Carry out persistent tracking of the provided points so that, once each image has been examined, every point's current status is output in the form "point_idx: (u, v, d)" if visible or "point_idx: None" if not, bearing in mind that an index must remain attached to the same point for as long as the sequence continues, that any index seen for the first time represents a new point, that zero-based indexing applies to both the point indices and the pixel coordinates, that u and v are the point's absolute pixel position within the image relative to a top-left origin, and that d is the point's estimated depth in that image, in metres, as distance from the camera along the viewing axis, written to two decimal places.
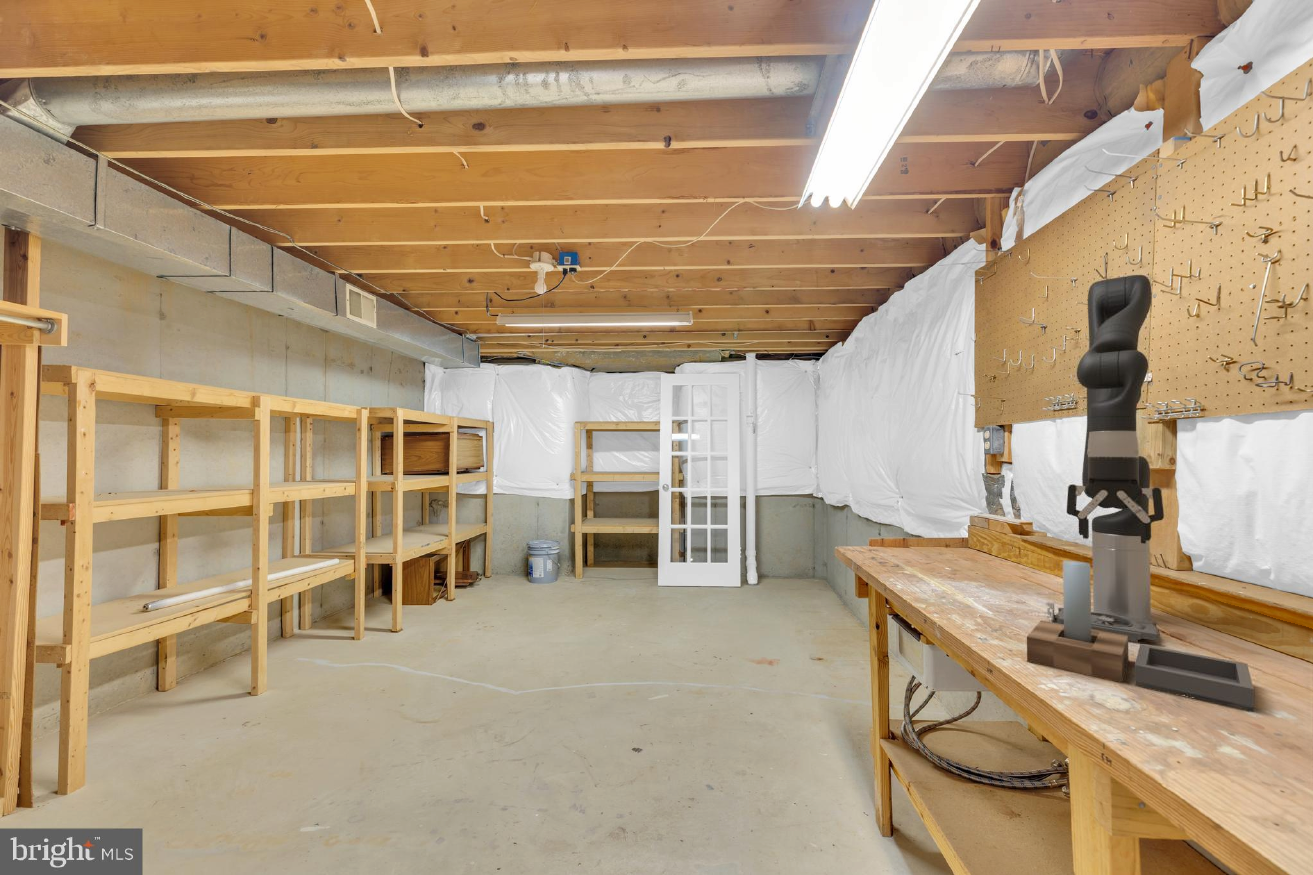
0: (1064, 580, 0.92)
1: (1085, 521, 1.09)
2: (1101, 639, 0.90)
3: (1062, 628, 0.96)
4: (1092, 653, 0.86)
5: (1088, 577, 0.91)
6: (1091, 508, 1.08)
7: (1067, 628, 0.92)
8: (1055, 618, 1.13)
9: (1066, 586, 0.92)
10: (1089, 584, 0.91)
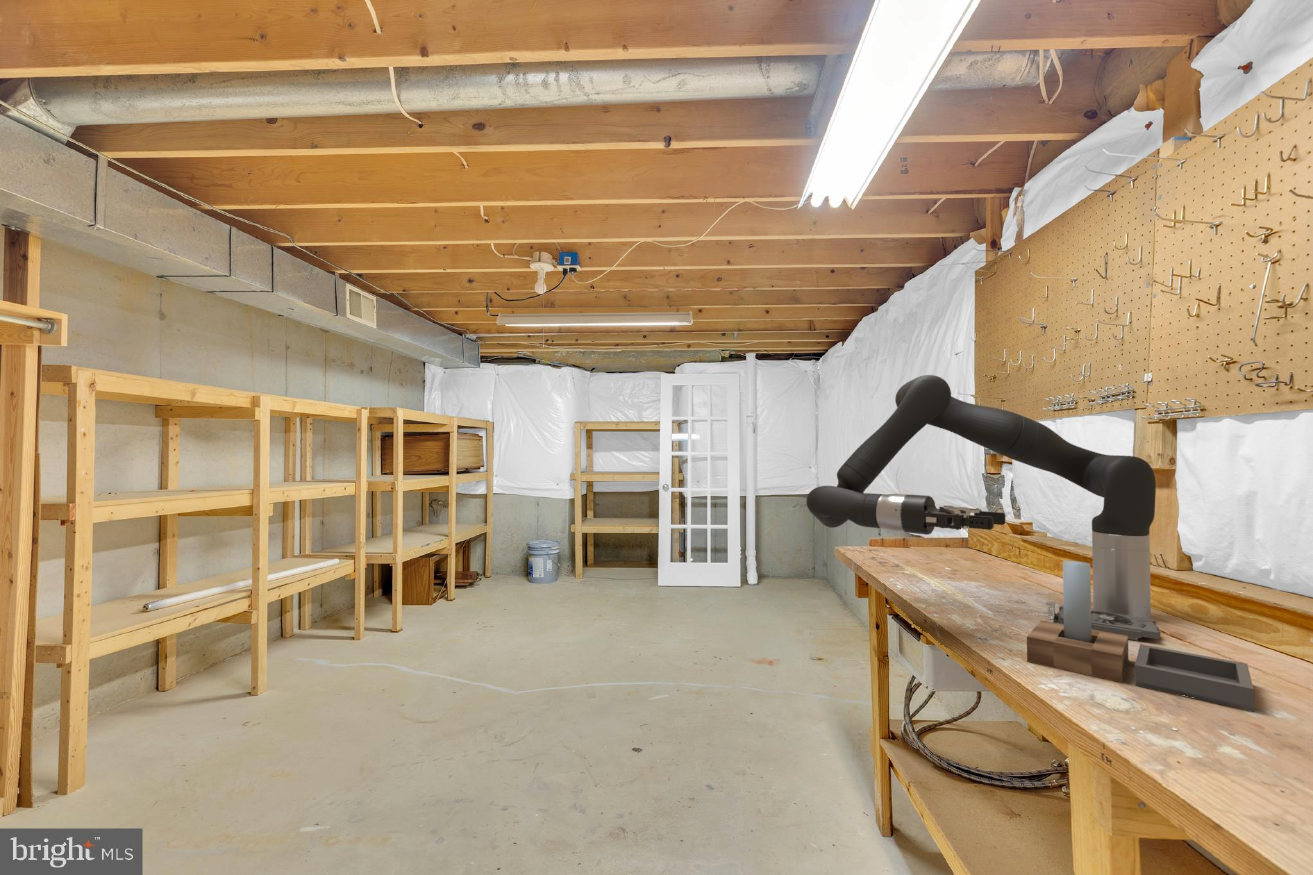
0: (1064, 580, 0.92)
1: None
2: (1101, 639, 0.90)
3: (1062, 628, 0.96)
4: (1092, 653, 0.86)
5: (1088, 577, 0.91)
6: None
7: (1067, 628, 0.92)
8: (1056, 617, 1.13)
9: (1066, 586, 0.92)
10: (1089, 584, 0.91)
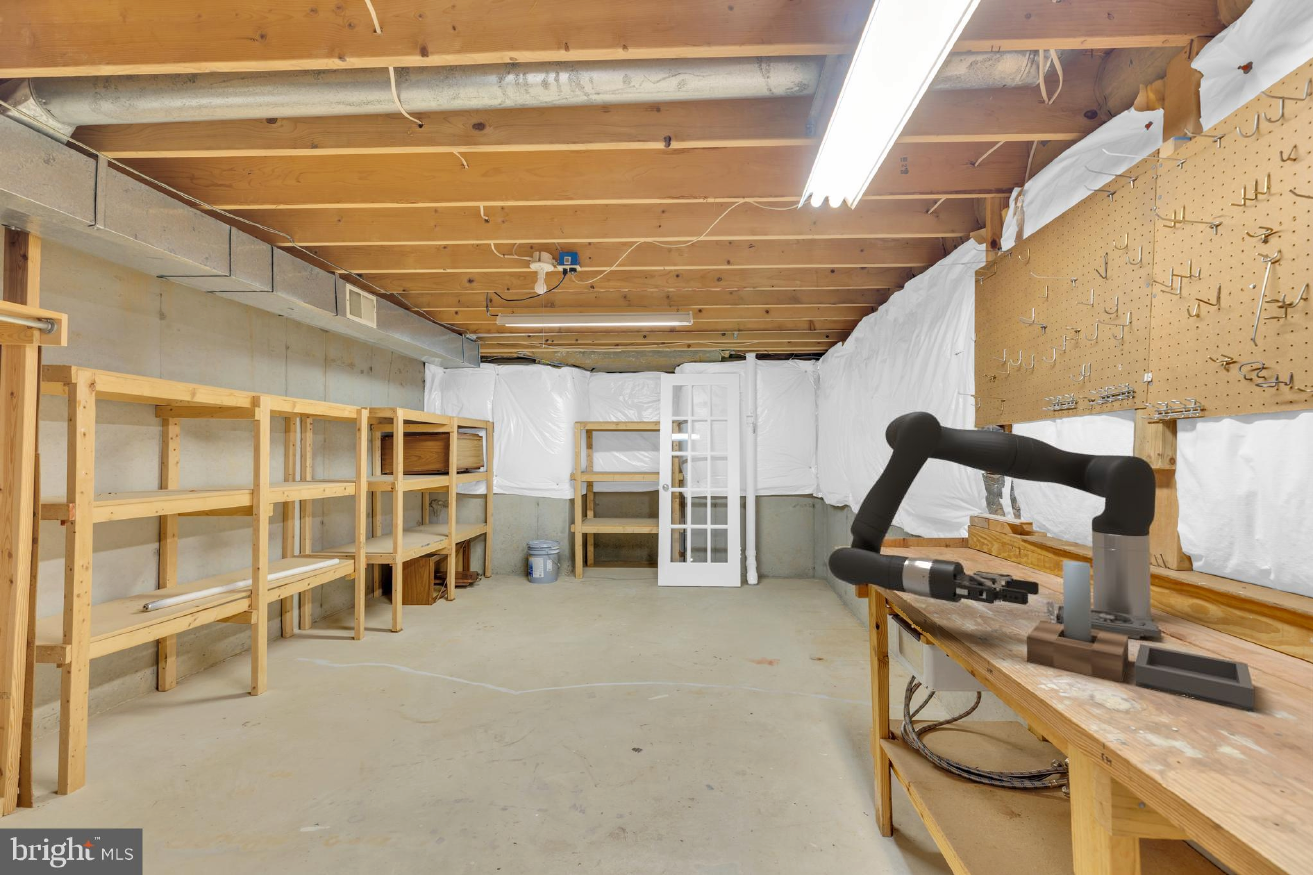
0: (1064, 580, 0.92)
1: None
2: (1101, 639, 0.90)
3: (1062, 628, 0.96)
4: (1092, 653, 0.86)
5: (1088, 577, 0.91)
6: None
7: (1067, 628, 0.92)
8: (1056, 616, 1.14)
9: (1066, 586, 0.92)
10: (1089, 584, 0.91)
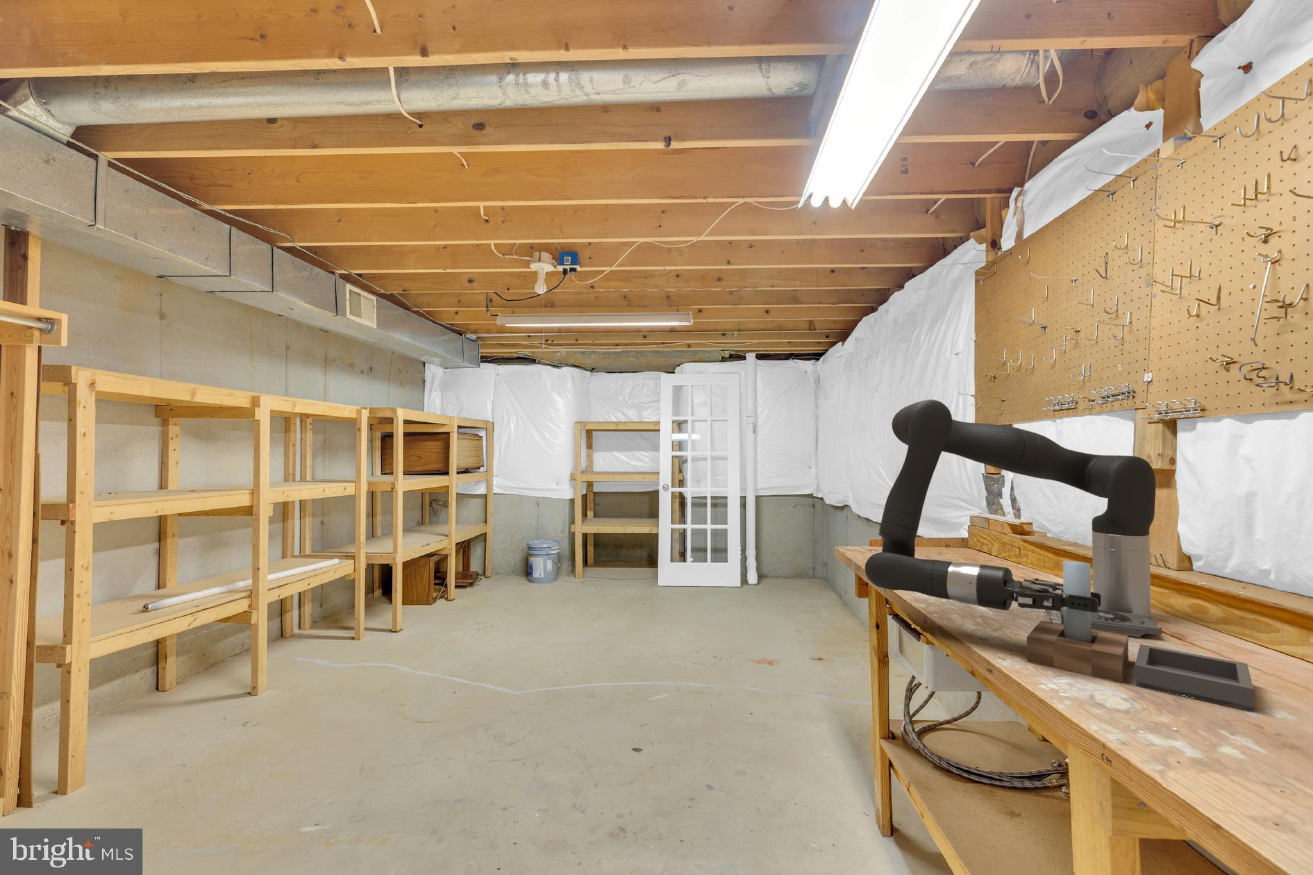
0: (1065, 580, 0.92)
1: None
2: (1101, 639, 0.90)
3: (1062, 628, 0.96)
4: (1092, 653, 0.86)
5: (1088, 577, 0.91)
6: None
7: (1067, 628, 0.92)
8: None
9: (1066, 586, 0.92)
10: (1089, 584, 0.91)
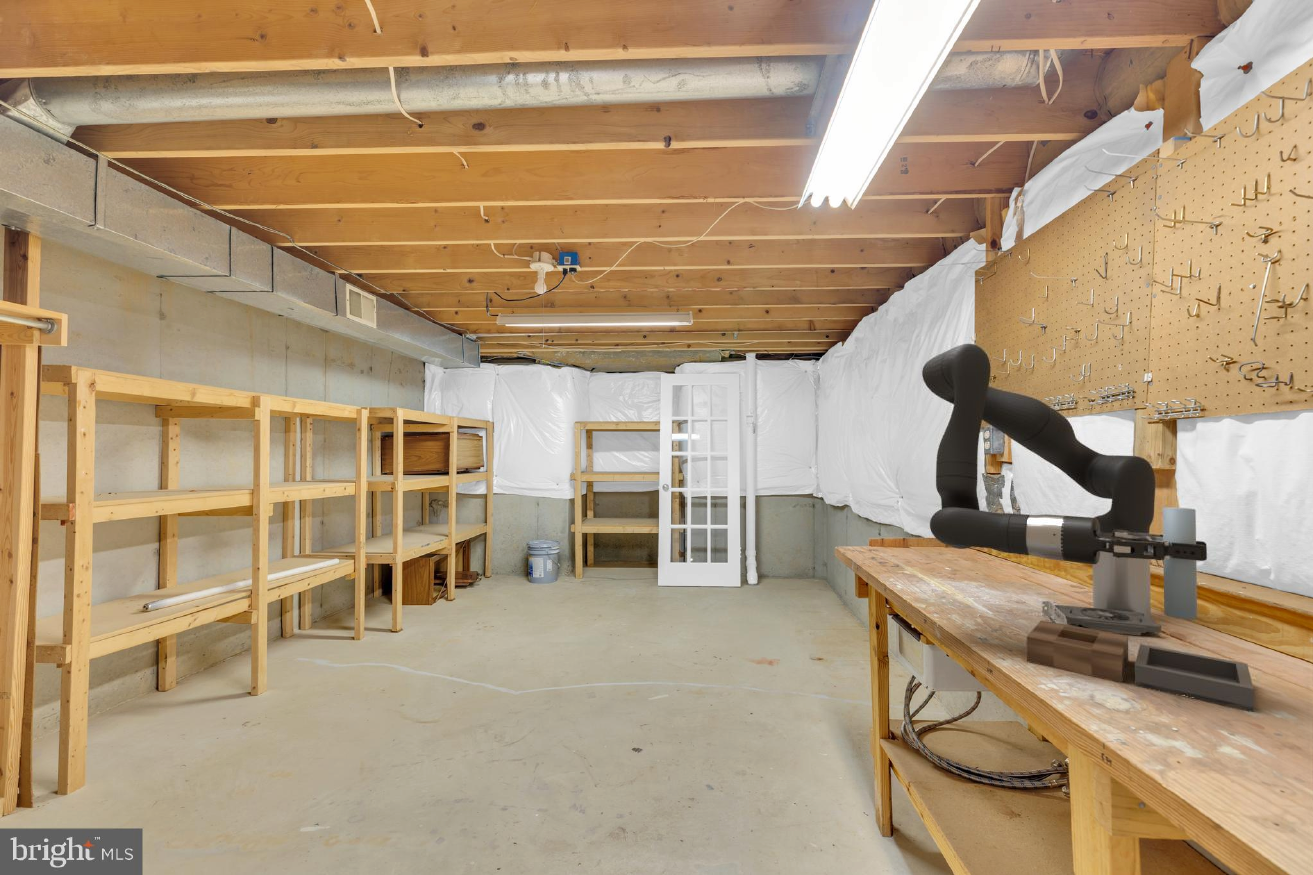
0: (1165, 527, 0.84)
1: None
2: (1101, 639, 0.90)
3: (1062, 628, 0.96)
4: (1092, 653, 0.86)
5: (1194, 523, 0.82)
6: None
7: (1169, 580, 0.83)
8: None
9: (1167, 534, 0.84)
10: (1195, 531, 0.82)
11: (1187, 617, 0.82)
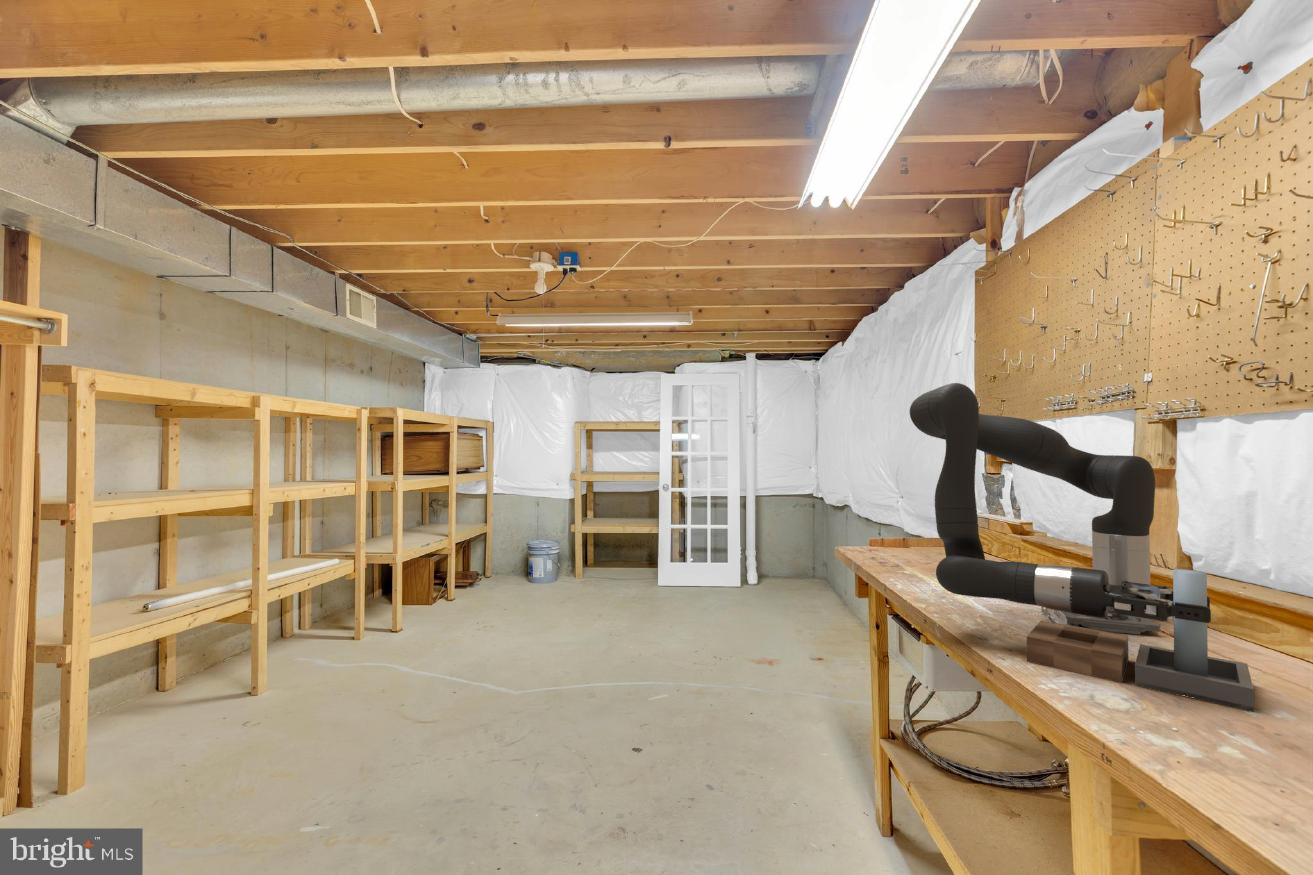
0: (1176, 591, 0.83)
1: None
2: (1101, 639, 0.90)
3: (1062, 628, 0.96)
4: (1092, 653, 0.86)
5: (1205, 588, 0.81)
6: None
7: (1179, 644, 0.83)
8: None
9: (1178, 597, 0.83)
10: (1206, 595, 0.81)
11: None
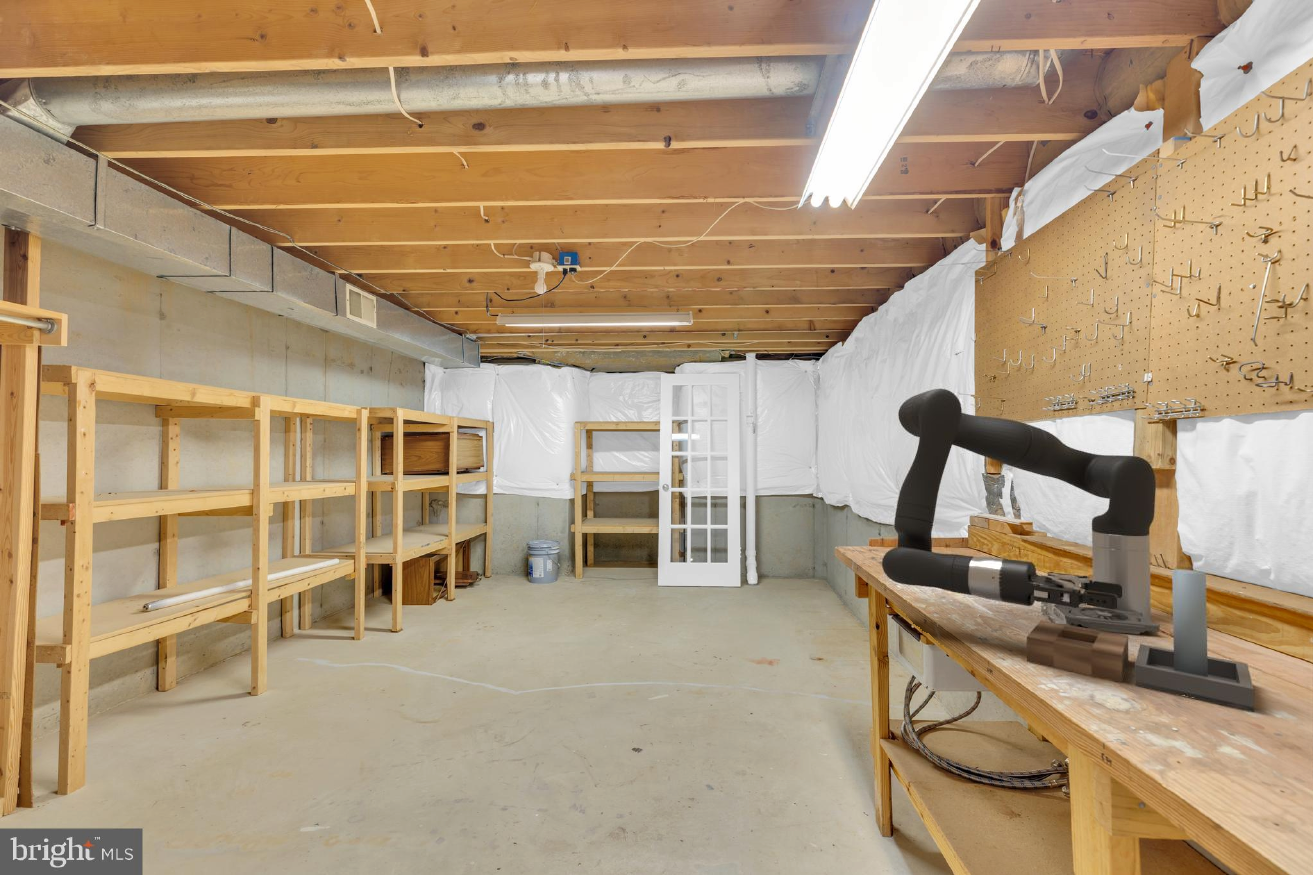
0: (1175, 591, 0.83)
1: None
2: (1101, 639, 0.90)
3: (1062, 628, 0.96)
4: (1092, 653, 0.86)
5: (1204, 588, 0.81)
6: None
7: (1179, 644, 0.83)
8: None
9: (1177, 597, 0.83)
10: (1205, 595, 0.81)
11: None
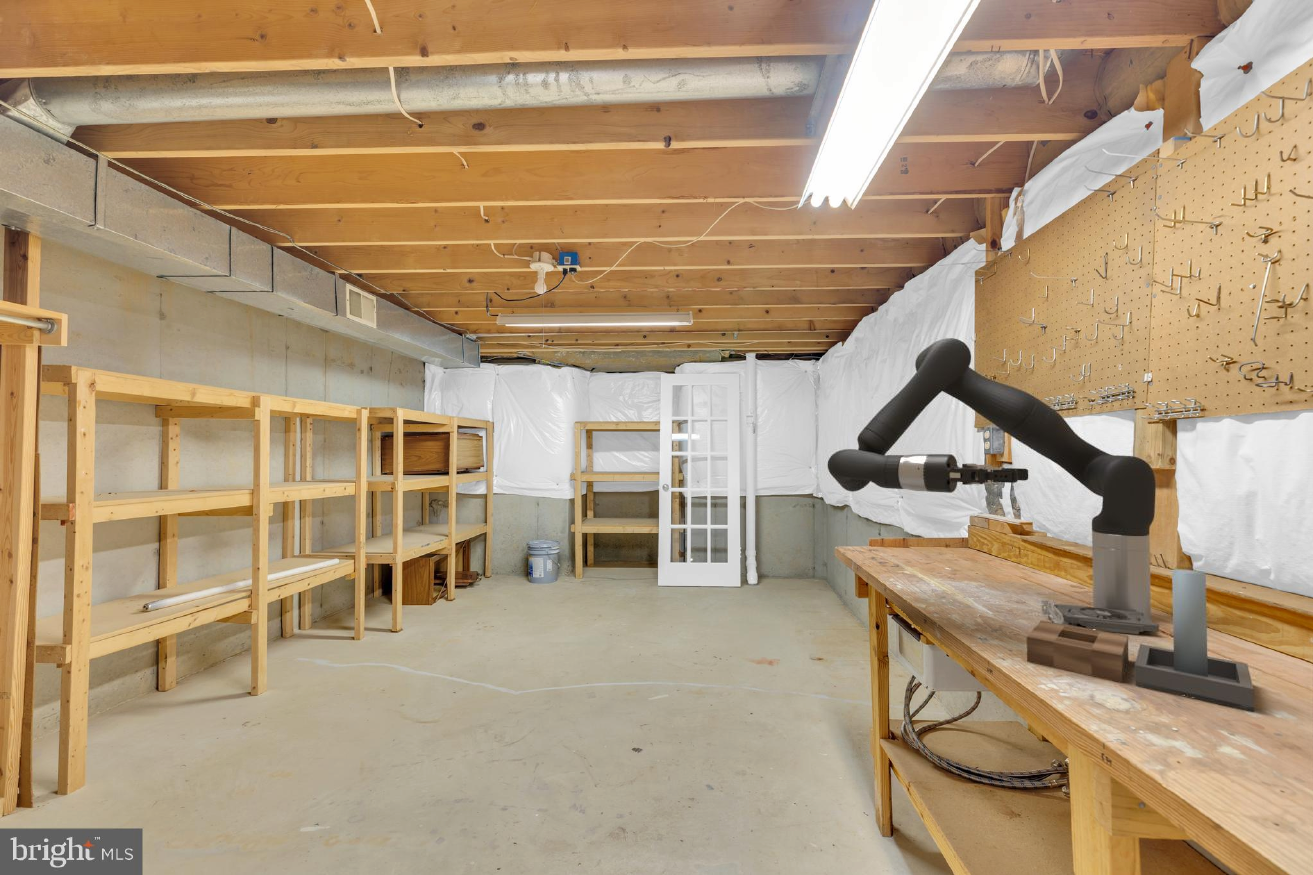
0: (1175, 591, 0.83)
1: None
2: (1101, 639, 0.90)
3: (1062, 628, 0.96)
4: (1092, 653, 0.86)
5: (1204, 587, 0.81)
6: None
7: (1179, 644, 0.83)
8: None
9: (1177, 597, 0.83)
10: (1205, 595, 0.81)
11: None
